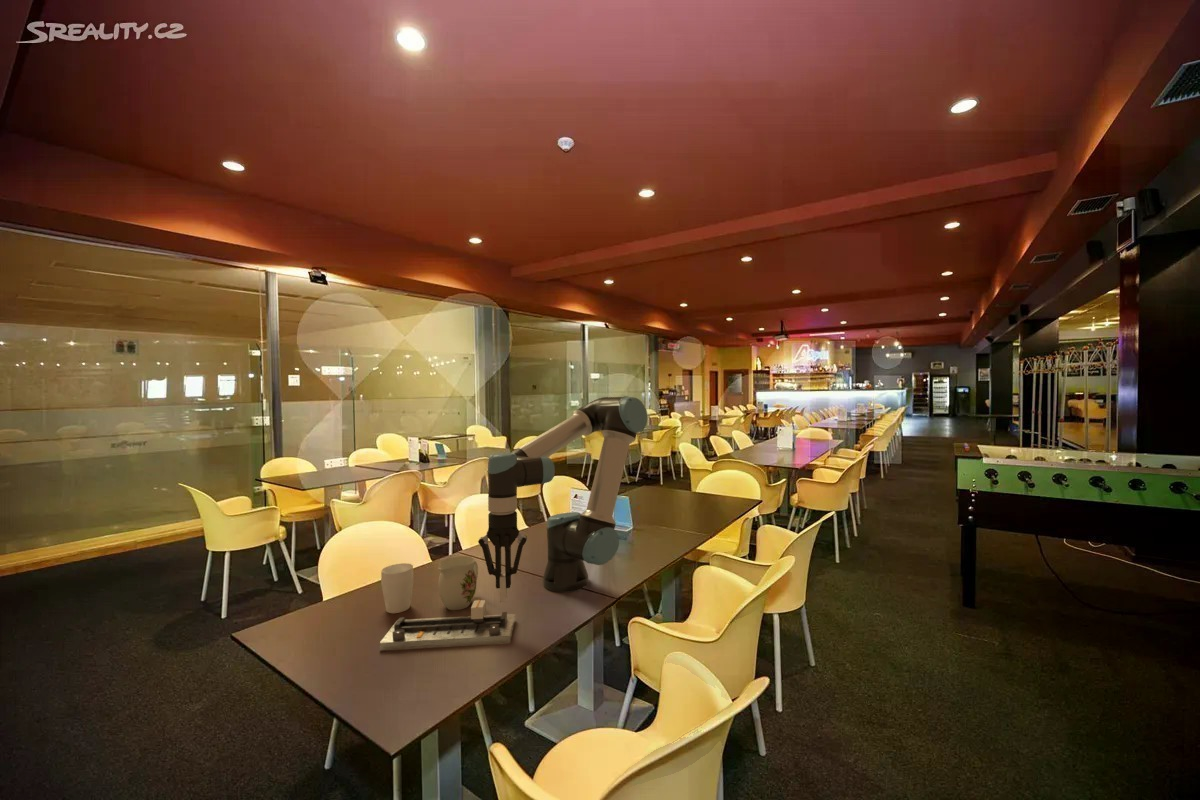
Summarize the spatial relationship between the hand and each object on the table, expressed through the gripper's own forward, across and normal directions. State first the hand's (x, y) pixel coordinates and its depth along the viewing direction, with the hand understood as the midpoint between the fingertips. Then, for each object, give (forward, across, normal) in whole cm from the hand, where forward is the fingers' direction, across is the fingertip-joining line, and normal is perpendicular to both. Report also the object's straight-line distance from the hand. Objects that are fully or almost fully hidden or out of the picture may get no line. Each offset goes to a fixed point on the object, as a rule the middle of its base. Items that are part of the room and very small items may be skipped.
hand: (503, 599), depth 125 cm
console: (+9, +14, +1) cm, 16 cm away
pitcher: (+9, +16, -18) cm, 26 cm away
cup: (+9, +34, -17) cm, 39 cm away
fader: (+6, +7, 0) cm, 9 cm away
